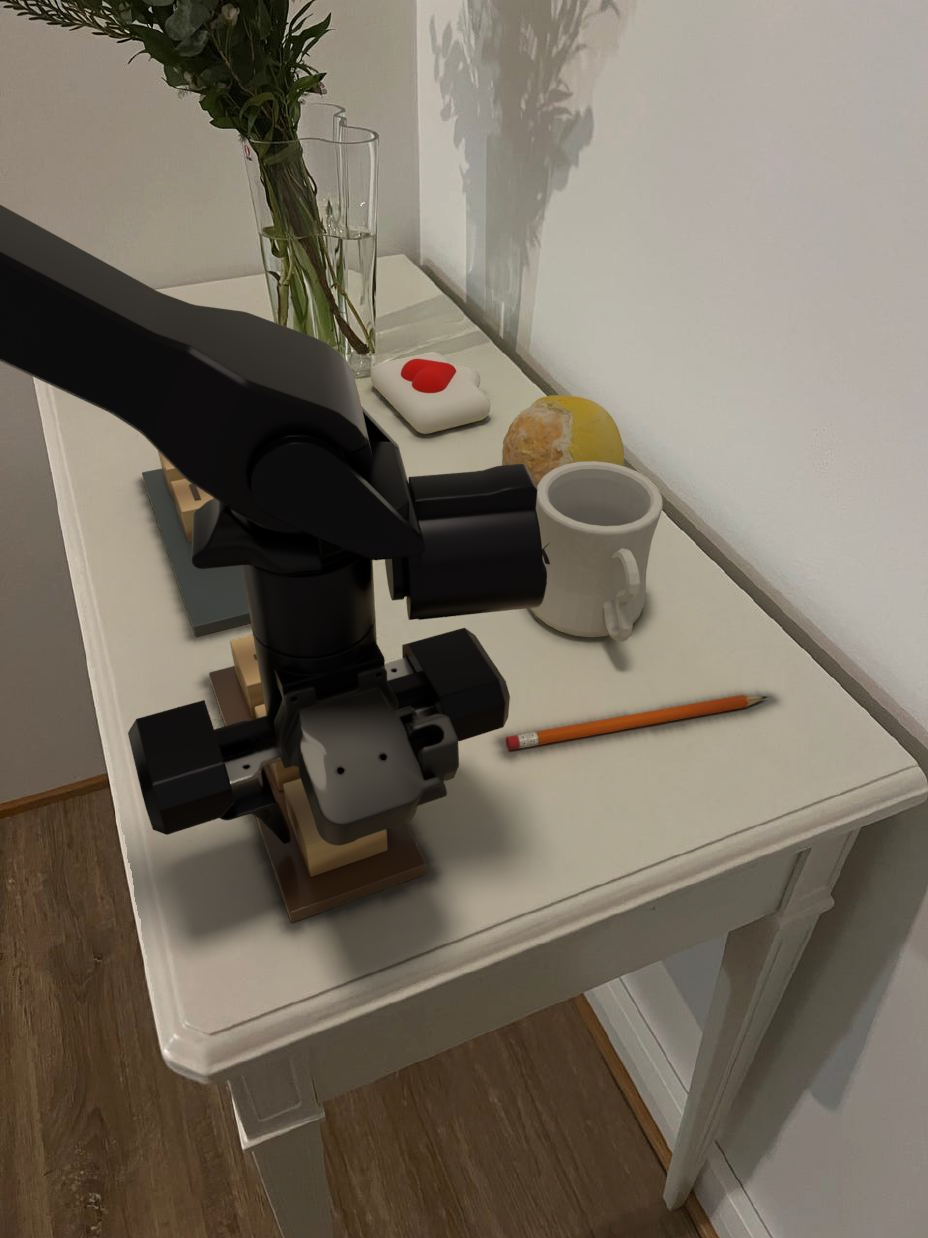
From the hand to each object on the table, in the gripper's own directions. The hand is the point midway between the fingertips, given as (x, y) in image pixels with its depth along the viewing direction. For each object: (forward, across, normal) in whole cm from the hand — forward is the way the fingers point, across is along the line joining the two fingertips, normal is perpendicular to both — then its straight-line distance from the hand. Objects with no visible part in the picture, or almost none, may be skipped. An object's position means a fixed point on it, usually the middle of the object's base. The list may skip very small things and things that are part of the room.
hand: (335, 820), depth 54 cm
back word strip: (+2, 0, +32) cm, 32 cm away
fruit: (+2, +28, +26) cm, 38 cm away
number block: (+1, 0, 0) cm, 1 cm away
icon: (+2, +26, +47) cm, 53 cm away
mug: (+2, +24, +12) cm, 27 cm away
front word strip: (+2, 0, +6) cm, 6 cm away
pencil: (+2, +22, +1) cm, 22 cm away
